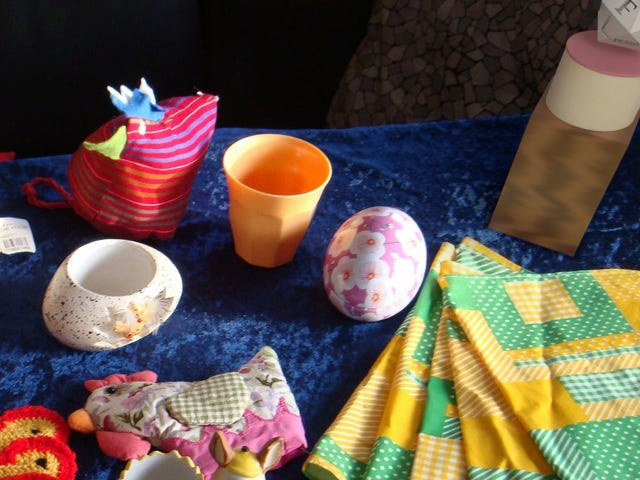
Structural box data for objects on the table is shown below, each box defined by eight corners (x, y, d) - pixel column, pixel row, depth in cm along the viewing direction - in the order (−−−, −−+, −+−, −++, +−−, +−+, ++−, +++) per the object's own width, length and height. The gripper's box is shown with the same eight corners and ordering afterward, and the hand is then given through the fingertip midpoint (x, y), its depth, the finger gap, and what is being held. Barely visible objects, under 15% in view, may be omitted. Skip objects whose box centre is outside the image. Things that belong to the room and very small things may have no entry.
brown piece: (590, 213, 113) (646, 100, 100) (571, 259, 107) (628, 144, 94) (509, 187, 117) (553, 75, 104) (486, 230, 110) (530, 116, 98)
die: (568, 26, 96) (586, -24, 87) (640, -22, 95) (666, -78, 85) (616, 80, 94) (639, 36, 85) (689, 32, 93) (722, -19, 83)
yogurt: (642, 100, 100) (669, 44, 95) (625, 141, 94) (654, 84, 89) (555, 77, 104) (577, 22, 99) (534, 115, 98) (556, 58, 93)
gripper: (782, -169, 88) (728, 46, 90) (572, -188, 92) (524, 19, 93) (824, -215, 81) (764, 21, 82) (594, -234, 84) (541, -8, 86)
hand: (637, 20), depth 88 cm, fingers closed on die, 8 cm apart
